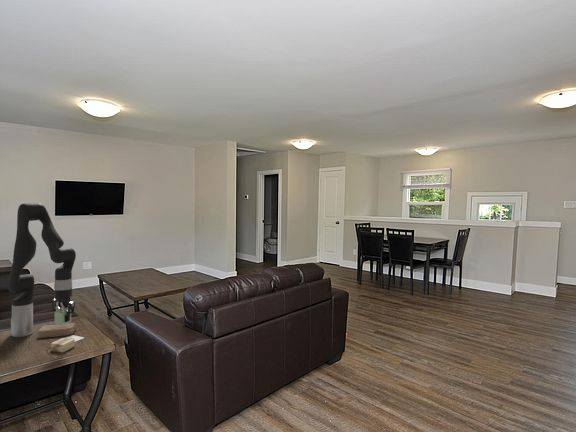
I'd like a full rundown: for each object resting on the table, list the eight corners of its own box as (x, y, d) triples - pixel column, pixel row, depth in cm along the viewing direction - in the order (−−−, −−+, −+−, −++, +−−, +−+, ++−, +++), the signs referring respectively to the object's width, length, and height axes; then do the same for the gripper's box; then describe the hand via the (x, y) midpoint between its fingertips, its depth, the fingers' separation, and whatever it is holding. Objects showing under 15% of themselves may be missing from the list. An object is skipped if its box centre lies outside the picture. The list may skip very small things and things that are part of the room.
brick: (37, 338, 181) (37, 330, 181) (42, 332, 189) (42, 324, 189) (72, 335, 187) (72, 327, 186) (76, 330, 194) (76, 322, 194)
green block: (54, 323, 168) (54, 311, 167) (64, 320, 172) (64, 308, 172) (61, 325, 166) (61, 313, 166) (71, 321, 171) (71, 310, 171)
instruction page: (56, 341, 177) (56, 340, 177) (72, 335, 186) (72, 334, 186) (69, 344, 175) (69, 343, 175) (84, 338, 183) (84, 337, 183)
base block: (51, 351, 167) (51, 343, 167) (62, 345, 174) (62, 337, 174) (63, 352, 166) (63, 344, 166) (74, 346, 173) (74, 339, 172)
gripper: (45, 287, 167) (45, 321, 168) (66, 291, 163) (66, 325, 163) (60, 284, 174) (59, 316, 175) (80, 287, 170) (80, 320, 170)
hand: (63, 320), depth 169 cm, fingers closed on green block, 5 cm apart
